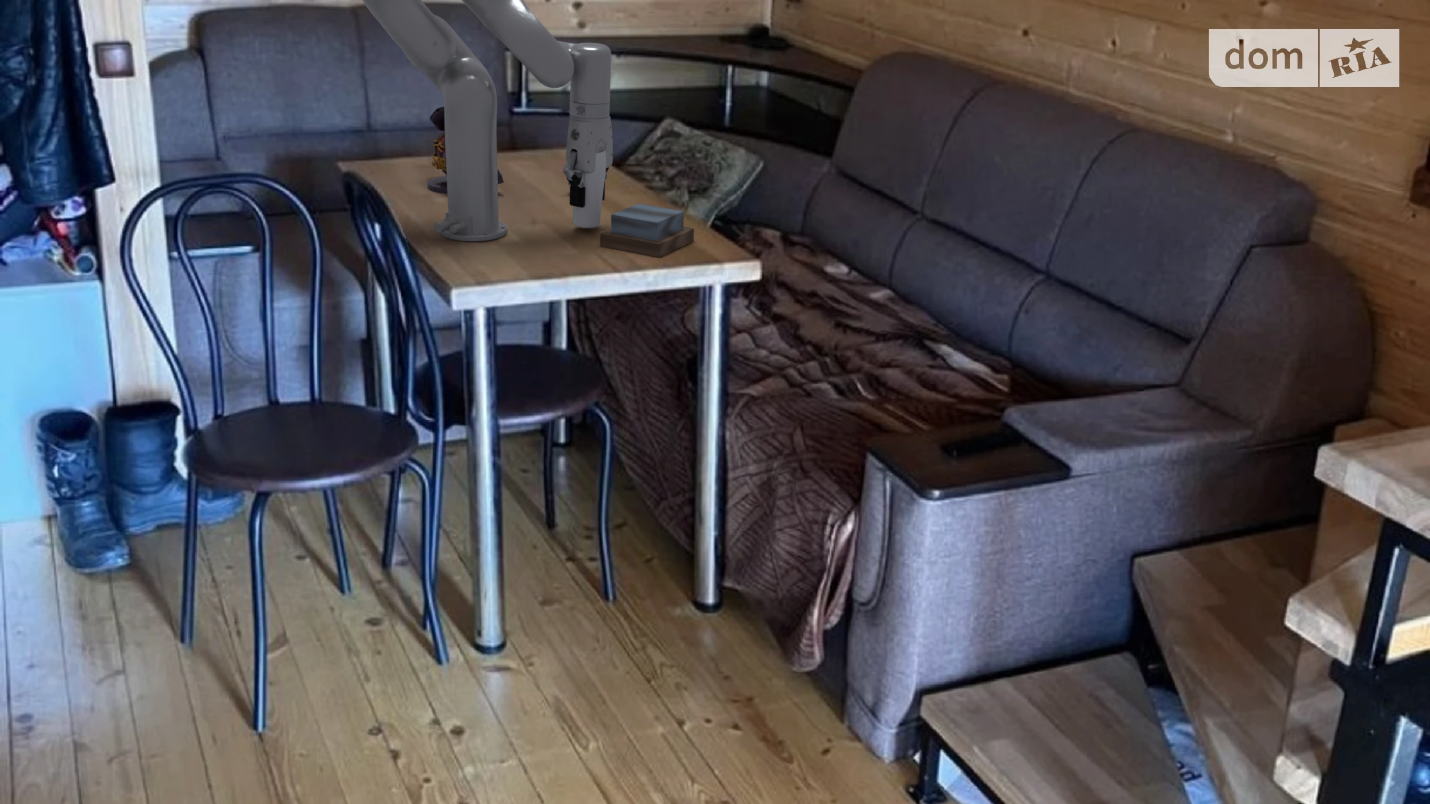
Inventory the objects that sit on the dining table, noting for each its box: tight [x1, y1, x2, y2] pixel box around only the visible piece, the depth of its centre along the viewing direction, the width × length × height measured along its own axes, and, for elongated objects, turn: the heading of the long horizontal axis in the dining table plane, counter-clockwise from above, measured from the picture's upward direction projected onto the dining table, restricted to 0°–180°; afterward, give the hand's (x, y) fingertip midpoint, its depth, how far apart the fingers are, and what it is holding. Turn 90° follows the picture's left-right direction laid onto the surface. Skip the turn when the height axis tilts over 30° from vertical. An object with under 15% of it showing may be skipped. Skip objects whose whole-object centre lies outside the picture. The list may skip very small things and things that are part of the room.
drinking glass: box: [572, 151, 606, 229], centre depth 278 cm, size 7×7×15 cm
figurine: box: [427, 106, 505, 195], centre depth 306 cm, size 20×14×17 cm
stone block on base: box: [599, 203, 695, 258], centre depth 273 cm, size 13×13×6 cm
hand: (587, 202), depth 279 cm, fingers closed on drinking glass, 6 cm apart
